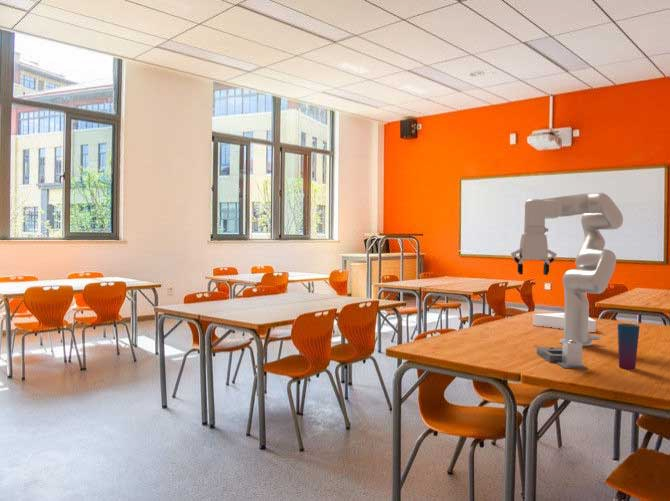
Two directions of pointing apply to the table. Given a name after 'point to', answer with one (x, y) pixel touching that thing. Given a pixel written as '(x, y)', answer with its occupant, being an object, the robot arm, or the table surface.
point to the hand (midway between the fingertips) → (533, 274)
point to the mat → (570, 366)
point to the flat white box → (557, 321)
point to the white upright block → (572, 353)
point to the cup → (627, 345)
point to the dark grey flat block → (550, 353)
